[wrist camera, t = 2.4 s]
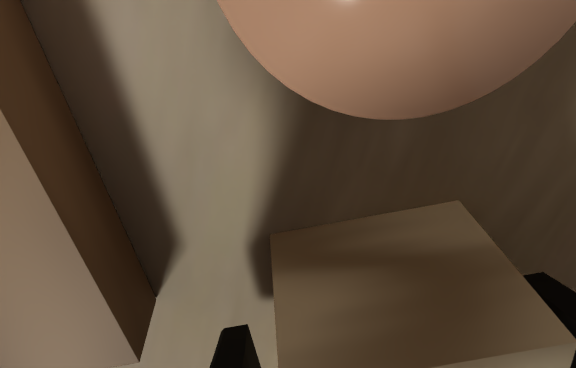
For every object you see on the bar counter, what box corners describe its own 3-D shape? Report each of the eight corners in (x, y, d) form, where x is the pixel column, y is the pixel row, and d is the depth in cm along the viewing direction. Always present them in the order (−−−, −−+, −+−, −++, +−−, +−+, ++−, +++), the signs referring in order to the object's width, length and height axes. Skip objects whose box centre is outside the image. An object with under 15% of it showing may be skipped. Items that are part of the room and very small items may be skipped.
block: (297, 353, 13) (316, 521, 9) (269, 232, 11) (279, 393, 7) (449, 326, 13) (533, 485, 9) (456, 198, 11) (578, 341, 7)
